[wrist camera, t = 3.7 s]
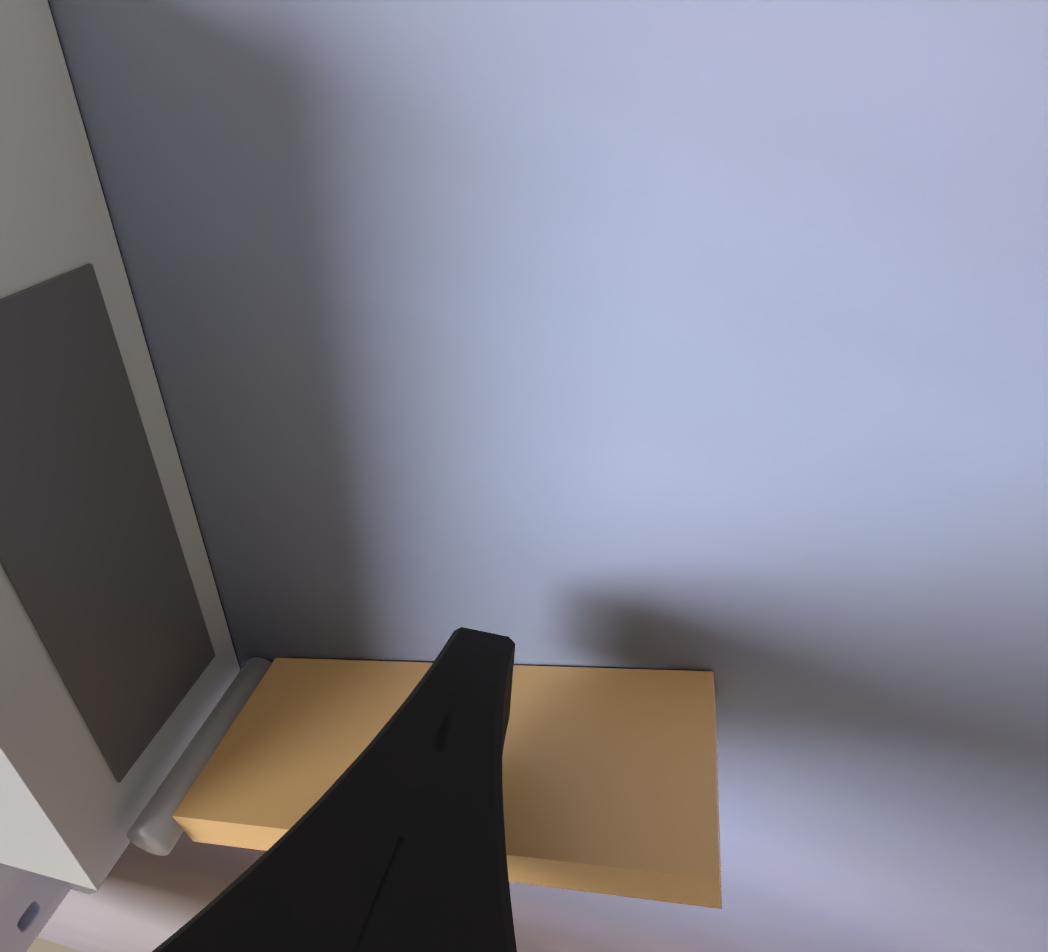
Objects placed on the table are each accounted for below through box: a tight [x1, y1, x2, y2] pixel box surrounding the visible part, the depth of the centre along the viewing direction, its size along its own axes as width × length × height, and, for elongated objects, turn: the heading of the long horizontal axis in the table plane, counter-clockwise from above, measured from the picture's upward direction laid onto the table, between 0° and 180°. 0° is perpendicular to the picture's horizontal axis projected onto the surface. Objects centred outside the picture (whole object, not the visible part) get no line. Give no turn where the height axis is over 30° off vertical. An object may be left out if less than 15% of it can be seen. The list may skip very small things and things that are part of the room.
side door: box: [127, 657, 722, 909], centre depth 12 cm, size 10×1×4 cm, turn 101°
